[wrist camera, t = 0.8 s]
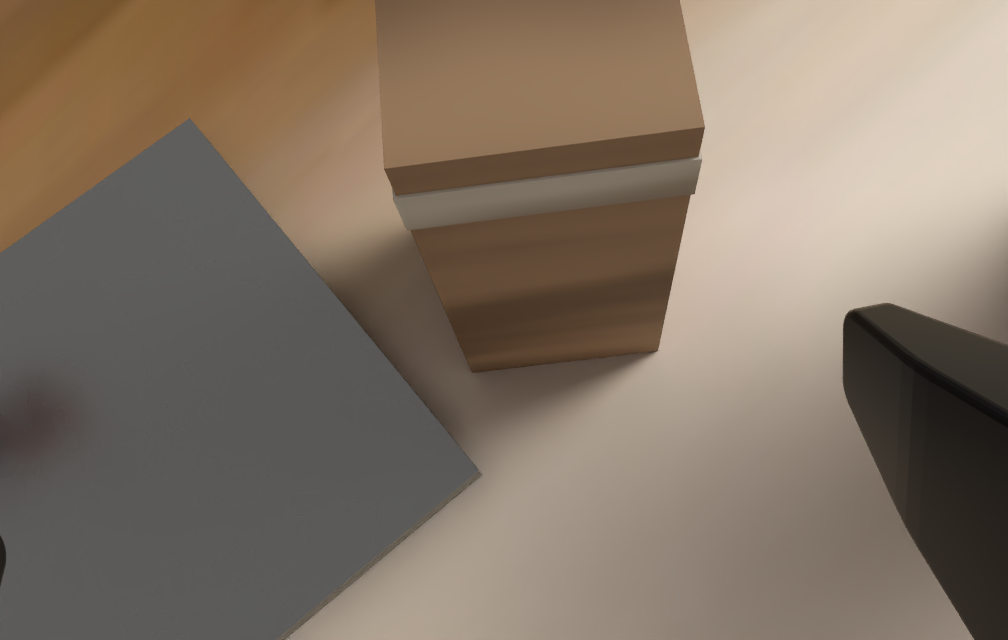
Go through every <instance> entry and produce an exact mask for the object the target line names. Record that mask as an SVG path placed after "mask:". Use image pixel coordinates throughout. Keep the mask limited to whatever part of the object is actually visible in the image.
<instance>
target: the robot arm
mask: <svg viewBox="0 0 1008 640" xmlns="http://www.w3.org/2000/svg"><path fill="white" fill-rule="evenodd" d="M843 386H844V391H845V395H846V398H847V401H848V404H849V406H850V408H851V410H852V413H853V415H854V417H855V419H856V421H857V423H858V426H859V428H860V430H861V432H862V434H863V437H864V439H865V441H866V443H867V445H868V447H869V450H870V452H871V454H872V456H873V458H874V461H875V463H876V465H877V467H878V469H879V471H880V474H881V476H882V478H883V480H884V482H885V485H886V487H887V489H888V491H889V493H890V495H891V498H892V500H893V502H894V504H895V506H896V508H897V510H898V512H899V514H900V516H901V519H902V521H903V523H904V525H905V527H906V528H907V530H908V532H909V533H910V535H911V537H912V539H913V540H914V542H915V544H916V546H917V547H918V549H919V551H920V552H921V554H922V555H923V557H924V559H925V560H926V562H927V564H928V565H929V567H930V568H931V570H932V572H933V573H934V575H935V577H936V578H937V580H938V581H939V583H940V585H941V586H942V588H943V590H944V591H945V593H946V594H947V596H948V598H949V599H950V601H951V603H952V604H953V606H954V607H955V609H956V611H957V612H958V614H959V616H960V617H961V619H962V620H963V622H964V624H965V625H966V627H967V629H968V630H969V632H970V633H971V635H972V637H973V638H974V640H1008V345H1006V344H1003V343H1000V342H997V341H995V340H992V339H989V338H986V337H983V336H981V335H978V334H975V333H972V332H969V331H967V330H964V329H961V328H958V327H955V326H953V325H950V324H947V323H944V322H941V321H939V320H936V319H933V318H930V317H927V316H924V315H922V314H919V313H916V312H913V311H910V310H908V309H905V308H902V307H899V306H896V305H894V304H890V303H882V304H877V305H872V306H867V307H862V308H857V309H853V310H850V311H849V312H848V313H847V314H846V316H845V319H844V323H843ZM5 566H6V548H5V545H4V542H3V539H2V537H1V535H0V587H1V582H2V578H3V574H4V570H5Z"/></svg>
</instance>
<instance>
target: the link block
mask: <svg viewBox="0 0 1008 640" xmlns="http://www.w3.org/2000/svg"><path fill="white" fill-rule="evenodd" d="M375 8H376V26H377V45H378V63H379V82H380V101H381V119H382V138H383V156H384V170H385V172H386V174H387V176H388V179H389V181H390V183H391V186H392V190H393V200H394V202H395V205H396V207H397V209H398V211H399V214H400V216H401V218H402V220H403V223H404V225H405V227H406V230H411V232H412V235H413V237H414V239H415V242H416V244H417V246H418V248H419V251H420V253H421V255H422V258H423V260H424V262H425V265H426V267H427V269H428V272H429V274H430V276H431V279H432V281H433V283H434V286H435V288H436V290H437V293H438V295H439V297H440V300H441V302H442V304H443V307H444V309H445V311H446V314H447V316H448V318H449V320H450V323H451V325H452V327H453V330H454V332H455V334H456V337H457V339H458V341H459V344H460V346H461V348H462V351H463V353H464V355H465V358H466V360H467V362H468V365H469V367H470V369H471V372H472V373H474V372H482V371H491V370H499V369H508V368H516V367H525V366H533V365H542V364H550V363H559V362H567V361H576V360H584V359H593V358H601V357H610V356H618V355H627V354H635V353H644V352H652V351H658V347H659V343H660V338H661V333H662V328H663V324H664V319H665V314H666V309H667V305H668V300H669V295H670V290H671V286H672V281H673V276H674V271H675V266H676V262H677V257H678V252H679V247H680V243H681V238H682V233H683V228H684V224H685V219H686V214H687V209H688V205H689V200H690V195H691V194H695V190H696V185H697V180H698V176H699V171H700V167H701V162H702V156H701V151H700V148H701V143H702V138H703V133H704V129H705V125H704V120H703V115H702V110H701V105H700V100H699V95H698V90H697V85H696V80H695V75H694V70H693V65H692V60H691V55H690V50H689V45H688V40H687V35H686V30H685V25H684V20H683V15H682V10H681V5H680V0H375Z"/></svg>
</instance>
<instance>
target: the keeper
mask: <svg viewBox="0 0 1008 640" xmlns="http://www.w3.org/2000/svg"><path fill="white" fill-rule="evenodd" d="M481 475H482V474H481V473H480V471H479V470H478V468H477V467H476V466H475V465H474V464H473V462H472V461H471V460H470V459H469V458H468V456H467V455H466V454H465V453H464V451H463V450H462V449H461V448H460V447H459V445H458V444H457V443H456V442H455V440H454V439H453V438H452V437H451V436H450V434H449V433H448V432H447V431H446V430H445V428H444V427H443V426H442V425H441V423H440V422H439V421H438V420H437V419H436V417H435V416H434V415H433V414H432V412H431V411H430V410H429V409H428V408H427V406H426V405H425V404H424V403H423V402H422V400H421V399H420V398H419V397H418V395H417V394H416V393H415V392H414V391H413V389H412V388H411V387H410V386H409V384H408V383H407V382H406V381H405V380H404V378H403V377H402V376H401V375H400V374H399V372H398V371H397V370H396V369H395V367H394V366H393V365H392V364H391V363H390V361H389V360H388V359H387V358H386V356H385V355H384V354H383V353H382V352H381V350H380V349H379V348H378V347H377V346H376V344H375V343H374V342H373V341H372V339H371V338H370V337H369V336H368V335H367V333H366V332H365V331H364V330H363V328H362V327H361V326H360V325H359V324H358V322H357V321H356V320H355V319H354V318H353V316H352V315H351V314H350V313H349V311H348V310H347V309H346V308H345V307H344V305H343V304H342V303H341V302H340V300H339V299H338V298H337V297H336V296H335V294H334V293H333V292H332V291H331V290H330V288H329V287H328V286H327V285H326V283H325V282H324V281H323V280H322V279H321V277H320V276H319V275H318V274H317V272H316V271H315V270H314V269H313V268H312V266H311V265H310V264H309V263H308V262H307V260H306V259H305V258H304V257H303V255H302V254H301V253H300V252H299V251H298V249H297V248H296V247H295V246H294V244H293V243H292V242H291V241H290V240H289V238H288V237H287V236H286V235H285V234H284V232H283V231H282V230H281V229H280V227H279V226H278V225H277V224H276V223H275V221H274V220H273V219H272V218H271V217H270V215H269V214H268V213H267V212H266V210H265V209H264V208H263V207H262V206H261V204H260V203H259V202H258V201H257V199H256V198H255V197H254V196H253V195H252V193H251V192H250V191H249V190H248V189H247V187H246V186H245V185H244V184H243V182H242V181H241V180H240V179H239V178H238V176H237V175H236V174H235V173H234V171H233V170H232V169H231V168H230V167H229V165H228V164H227V163H226V162H225V161H224V159H223V158H222V157H221V156H220V154H219V153H218V152H217V151H216V150H215V148H214V147H213V146H212V145H211V143H210V142H209V141H208V140H207V139H206V137H205V136H204V135H203V134H202V133H201V131H200V130H199V129H198V128H197V126H196V125H195V124H194V123H193V122H192V120H191V119H190V118H189V119H188V120H187V121H185V122H184V123H182V124H181V125H180V126H178V127H177V128H175V129H174V130H173V131H171V132H170V133H168V134H167V135H165V136H164V137H163V138H161V139H160V140H158V141H157V142H156V143H154V144H153V145H151V146H150V147H149V148H147V149H146V150H144V151H143V152H142V153H140V154H139V155H137V156H136V157H135V158H133V159H132V160H130V161H129V162H128V163H126V164H125V165H123V166H122V167H121V168H119V169H118V170H116V171H115V172H114V173H112V174H111V175H109V176H108V177H107V178H105V179H104V180H102V181H101V182H100V183H98V184H97V185H95V186H94V187H93V188H91V189H90V190H88V191H87V192H86V193H84V194H83V195H81V196H80V197H78V198H77V199H76V200H74V201H73V202H71V203H70V204H69V205H67V206H66V207H64V208H63V209H62V210H60V211H59V212H57V213H56V214H55V215H53V216H52V217H50V218H49V219H48V220H46V221H45V222H43V223H42V224H41V225H39V226H38V227H36V228H35V229H34V230H32V231H31V232H29V233H28V234H27V235H25V236H24V237H22V238H21V239H20V240H18V241H17V242H15V243H14V244H13V245H11V246H10V247H8V248H7V249H6V250H4V251H3V252H1V253H0V535H1V537H2V539H3V542H4V545H5V548H6V566H5V570H4V574H3V578H2V582H1V587H0V640H285V639H286V638H287V637H288V636H289V635H290V634H292V633H293V632H294V631H295V630H296V629H298V628H299V627H300V626H301V625H302V624H304V623H305V622H306V621H307V620H308V619H310V618H311V617H312V616H313V615H314V614H316V613H317V612H318V611H319V610H320V609H322V608H323V607H324V606H325V605H326V604H328V603H329V602H330V601H331V600H332V599H334V598H335V597H336V596H337V595H338V594H340V593H341V592H342V591H343V590H344V589H346V588H347V587H348V586H349V585H350V584H352V583H353V582H354V581H355V580H356V579H358V578H359V577H360V576H361V575H362V574H364V573H365V572H366V571H367V570H368V569H370V568H371V567H372V566H373V565H374V564H376V563H377V562H378V561H379V560H380V559H382V558H383V557H384V556H385V555H386V554H387V553H389V552H390V551H391V550H392V549H393V548H395V547H396V546H397V545H398V544H399V543H401V542H402V541H403V540H404V539H405V538H407V537H408V536H409V535H410V534H411V533H413V532H414V531H415V530H416V529H417V528H419V527H420V526H421V525H422V524H423V523H425V522H426V521H427V520H428V519H429V518H431V517H432V516H433V515H434V514H435V513H437V512H438V511H439V510H440V509H441V508H443V507H444V506H445V505H446V504H447V503H449V502H450V501H451V500H452V499H453V498H455V497H456V496H457V495H458V494H459V493H461V492H462V491H463V490H464V489H465V488H467V487H468V486H469V485H470V484H471V483H473V482H474V481H475V480H476V479H477V478H479V477H480V476H481Z"/></svg>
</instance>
